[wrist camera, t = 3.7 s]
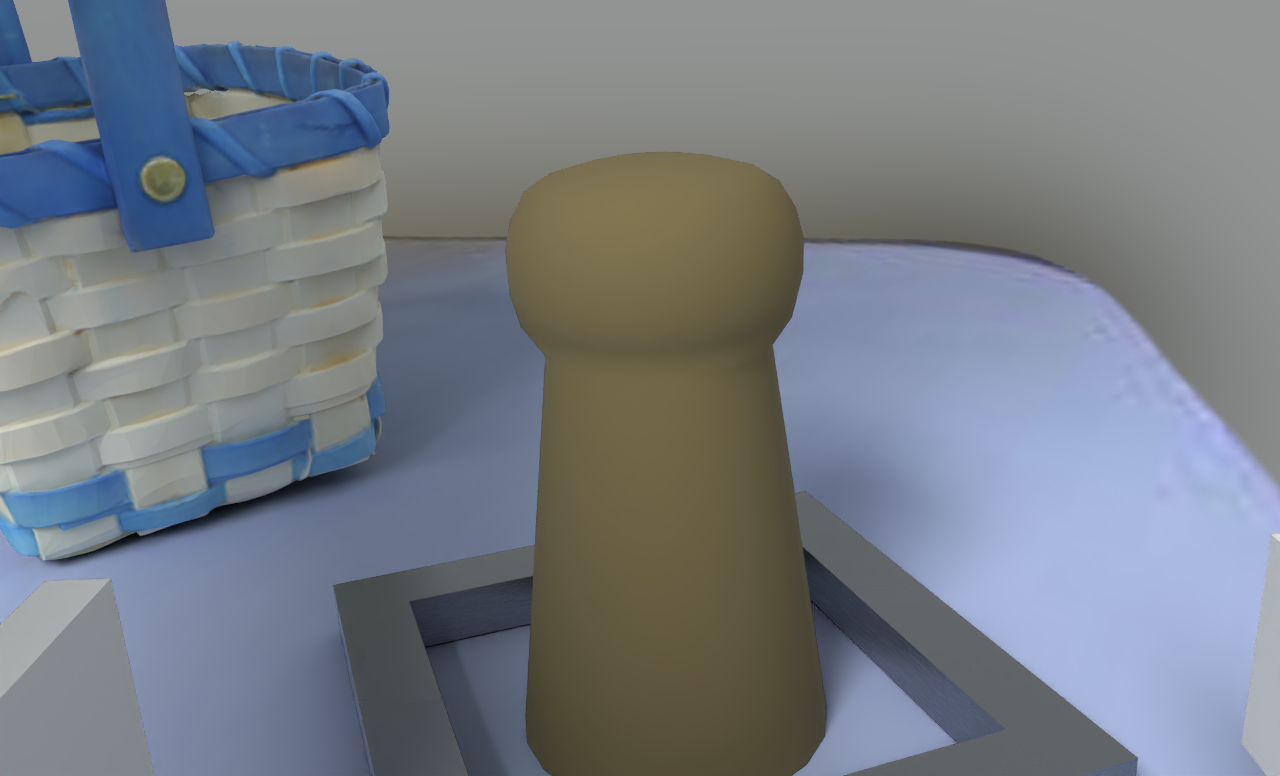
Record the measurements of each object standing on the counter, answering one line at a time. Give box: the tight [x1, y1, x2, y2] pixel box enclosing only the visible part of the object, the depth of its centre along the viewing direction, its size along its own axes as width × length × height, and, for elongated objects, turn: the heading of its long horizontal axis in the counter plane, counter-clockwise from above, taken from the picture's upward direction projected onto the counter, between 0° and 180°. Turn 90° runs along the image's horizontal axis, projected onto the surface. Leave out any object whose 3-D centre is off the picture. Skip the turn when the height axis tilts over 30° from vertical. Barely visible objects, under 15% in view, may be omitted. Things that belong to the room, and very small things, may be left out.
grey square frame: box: [333, 491, 1138, 776], centre depth 23 cm, size 12×12×1 cm
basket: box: [0, 0, 389, 561], centre depth 33 cm, size 21×16×24 cm
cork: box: [506, 152, 826, 776], centre depth 22 cm, size 6×6×11 cm
